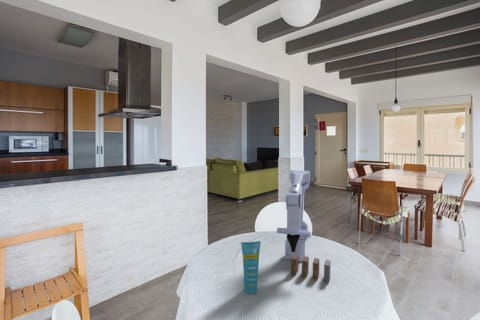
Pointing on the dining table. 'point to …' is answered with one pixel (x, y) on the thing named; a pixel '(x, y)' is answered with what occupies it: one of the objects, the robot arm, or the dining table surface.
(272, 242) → the dining table surface
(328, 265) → the domino
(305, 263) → the domino
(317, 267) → the domino
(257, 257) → the tube
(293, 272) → the domino
